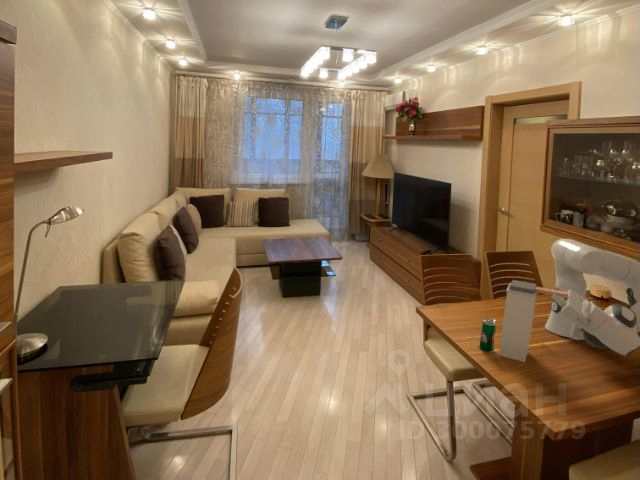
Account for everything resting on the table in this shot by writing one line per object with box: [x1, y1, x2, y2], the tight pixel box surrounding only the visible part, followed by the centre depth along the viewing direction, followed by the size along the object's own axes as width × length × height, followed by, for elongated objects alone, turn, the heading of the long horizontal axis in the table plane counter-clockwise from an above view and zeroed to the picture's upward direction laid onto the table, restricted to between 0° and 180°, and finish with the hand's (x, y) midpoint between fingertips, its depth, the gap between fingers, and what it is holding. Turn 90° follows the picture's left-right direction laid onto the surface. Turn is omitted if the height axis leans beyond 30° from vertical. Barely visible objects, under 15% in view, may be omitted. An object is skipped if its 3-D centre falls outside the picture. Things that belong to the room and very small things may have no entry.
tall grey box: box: [498, 282, 538, 363], centre depth 156 cm, size 10×10×26 cm
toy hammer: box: [509, 279, 567, 298], centre depth 151 cm, size 18×8×2 cm, turn 59°
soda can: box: [478, 317, 497, 353], centre depth 161 cm, size 5×5×12 cm
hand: (553, 291), depth 148 cm, fingers open, 7 cm apart
